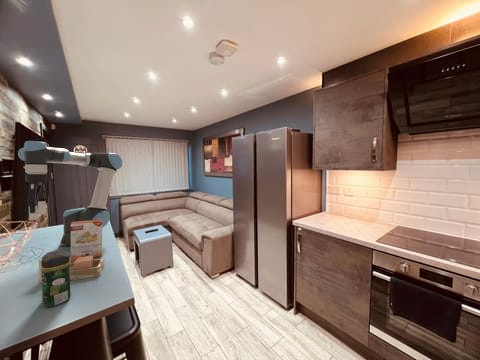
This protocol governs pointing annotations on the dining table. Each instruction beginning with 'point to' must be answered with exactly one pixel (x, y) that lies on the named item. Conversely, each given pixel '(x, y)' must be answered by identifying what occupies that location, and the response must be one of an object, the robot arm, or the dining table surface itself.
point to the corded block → (75, 264)
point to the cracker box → (86, 239)
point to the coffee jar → (55, 278)
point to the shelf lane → (87, 270)
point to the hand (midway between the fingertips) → (38, 216)
